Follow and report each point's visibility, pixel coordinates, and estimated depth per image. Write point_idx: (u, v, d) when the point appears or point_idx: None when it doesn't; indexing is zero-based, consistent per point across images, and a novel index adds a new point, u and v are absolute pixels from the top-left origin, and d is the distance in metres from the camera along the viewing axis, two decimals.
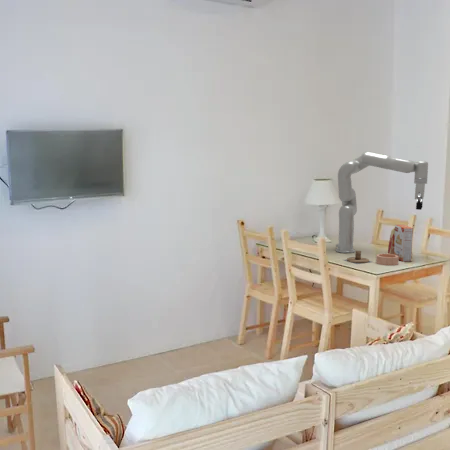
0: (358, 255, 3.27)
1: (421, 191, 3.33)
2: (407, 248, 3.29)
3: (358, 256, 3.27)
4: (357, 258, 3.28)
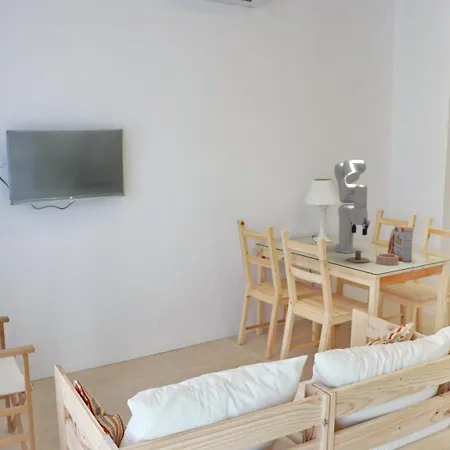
0: (358, 255, 3.27)
1: (366, 216, 3.21)
2: (407, 248, 3.29)
3: (358, 256, 3.27)
4: (357, 258, 3.28)
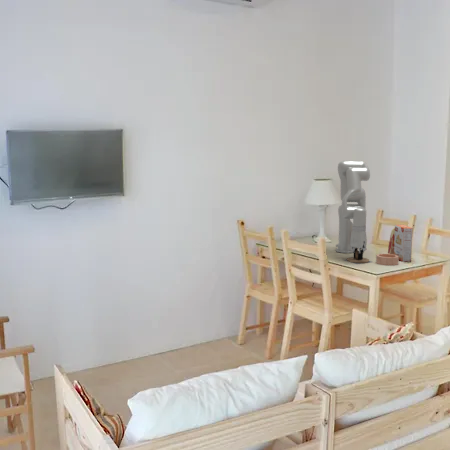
0: None
1: (365, 239, 3.24)
2: (407, 248, 3.29)
3: None
4: (357, 258, 3.28)
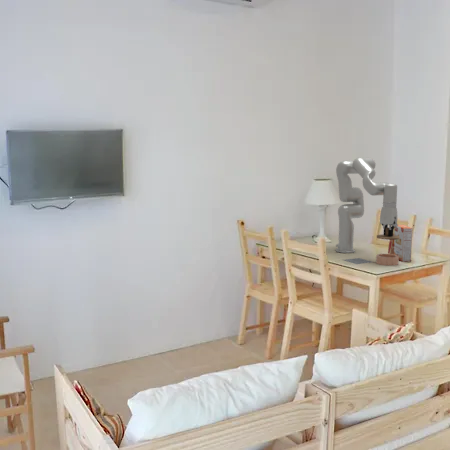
0: None
1: (396, 215, 3.16)
2: (406, 248, 3.29)
3: None
4: (387, 235, 3.20)
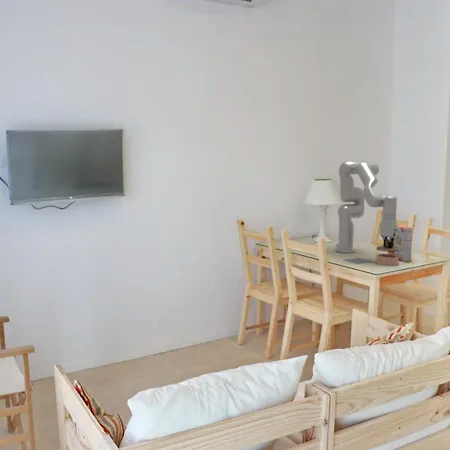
0: None
1: (396, 227, 3.17)
2: (406, 248, 3.29)
3: None
4: (387, 246, 3.21)
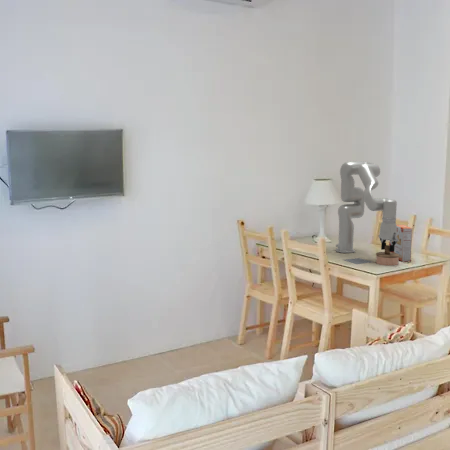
0: (388, 250, 3.21)
1: (395, 231, 3.17)
2: (406, 248, 3.29)
3: (388, 251, 3.22)
4: (386, 253, 3.22)
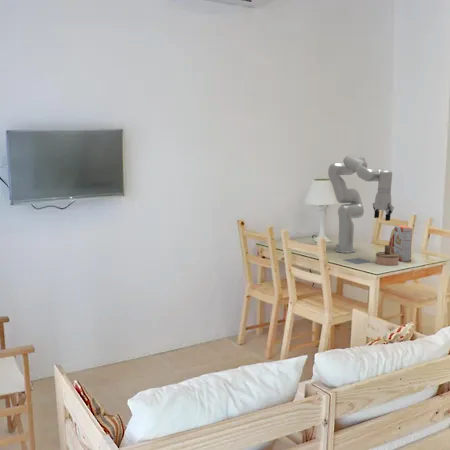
0: (388, 250, 3.21)
1: (390, 201, 3.23)
2: (406, 248, 3.29)
3: (388, 251, 3.22)
4: (386, 253, 3.22)
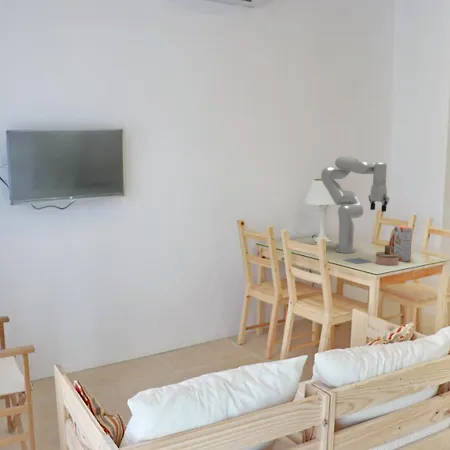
0: (388, 250, 3.21)
1: (385, 193, 3.28)
2: (406, 248, 3.29)
3: (388, 251, 3.22)
4: (386, 253, 3.22)
